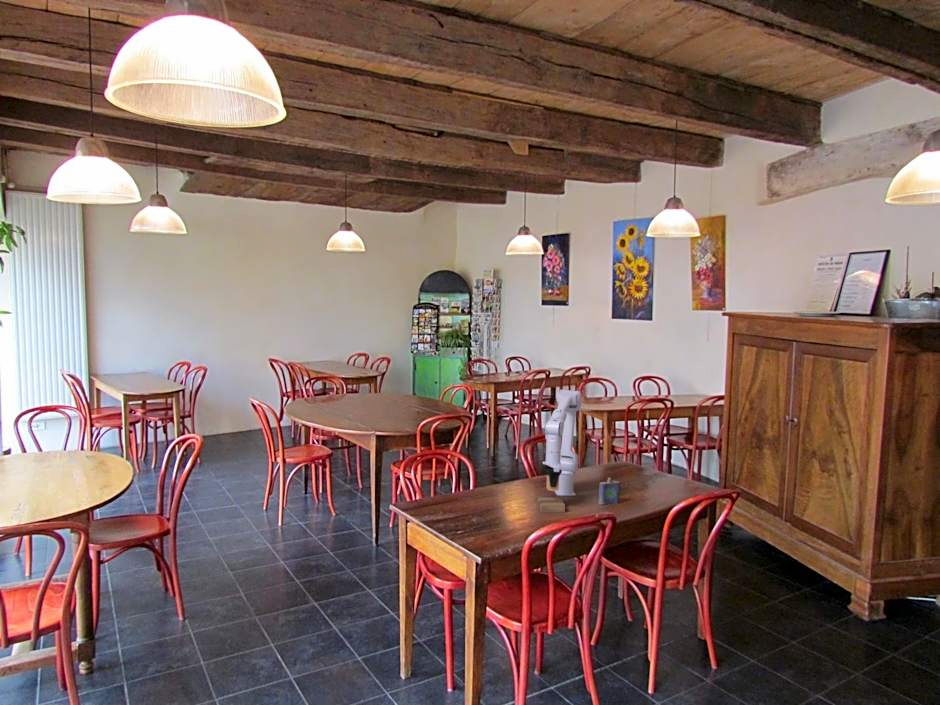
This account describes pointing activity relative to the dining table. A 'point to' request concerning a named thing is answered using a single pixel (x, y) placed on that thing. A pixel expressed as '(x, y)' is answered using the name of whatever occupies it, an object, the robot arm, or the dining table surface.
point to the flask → (609, 492)
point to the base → (551, 505)
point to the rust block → (552, 487)
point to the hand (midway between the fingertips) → (552, 485)
